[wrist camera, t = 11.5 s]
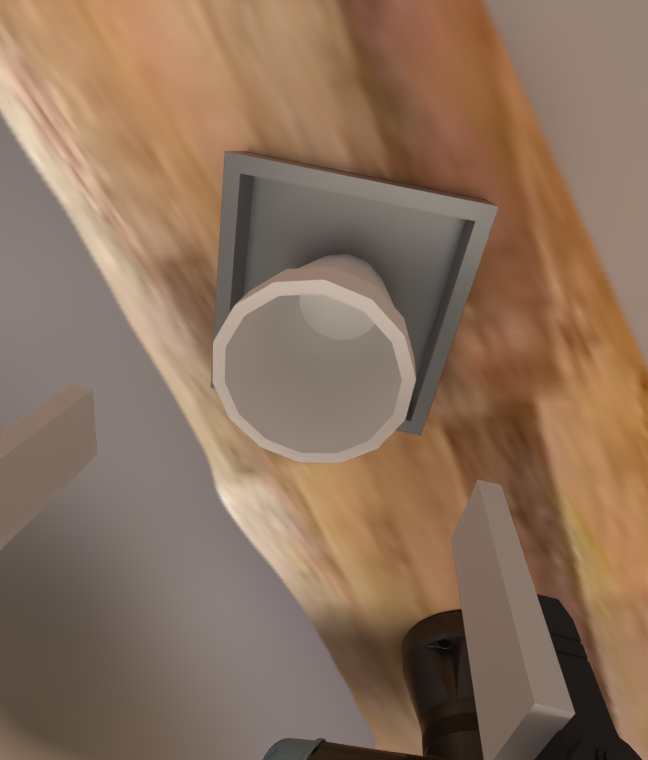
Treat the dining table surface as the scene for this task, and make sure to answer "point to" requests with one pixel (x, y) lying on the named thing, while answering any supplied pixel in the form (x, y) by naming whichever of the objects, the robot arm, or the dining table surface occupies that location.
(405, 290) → the tray
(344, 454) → the foam cup
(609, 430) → the dining table surface
